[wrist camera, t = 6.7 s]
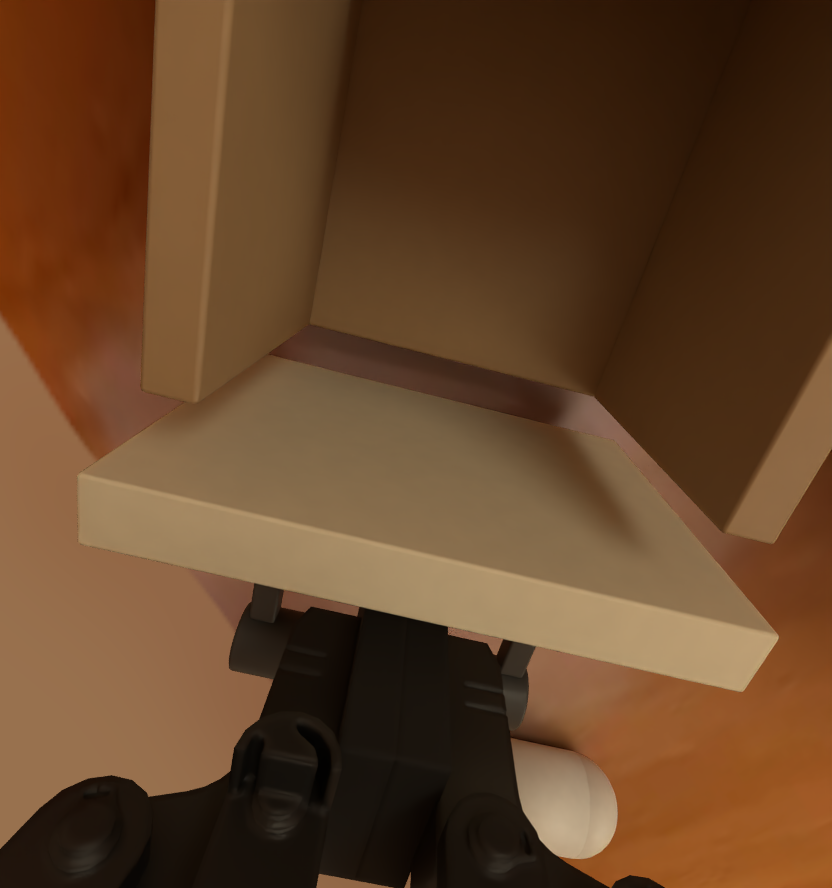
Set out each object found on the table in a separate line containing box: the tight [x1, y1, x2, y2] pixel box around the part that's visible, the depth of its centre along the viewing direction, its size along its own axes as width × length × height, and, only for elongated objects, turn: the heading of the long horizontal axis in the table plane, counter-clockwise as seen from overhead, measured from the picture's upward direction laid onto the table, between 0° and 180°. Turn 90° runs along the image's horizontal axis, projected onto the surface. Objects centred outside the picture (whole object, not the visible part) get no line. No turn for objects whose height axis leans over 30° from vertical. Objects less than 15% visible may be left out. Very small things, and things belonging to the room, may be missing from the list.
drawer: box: [77, 0, 832, 730], centre depth 10 cm, size 18×10×8 cm, turn 166°
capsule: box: [511, 738, 618, 859], centre depth 20 cm, size 7×3×3 cm, turn 76°
